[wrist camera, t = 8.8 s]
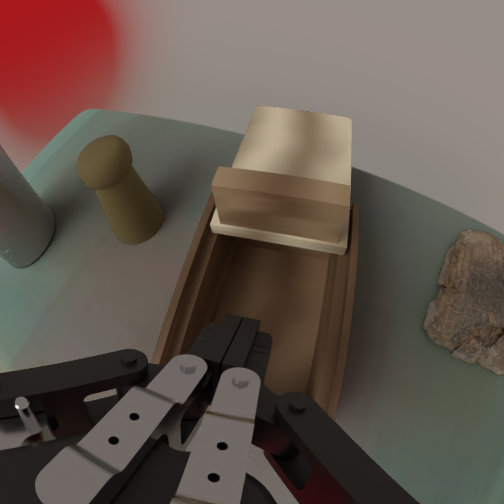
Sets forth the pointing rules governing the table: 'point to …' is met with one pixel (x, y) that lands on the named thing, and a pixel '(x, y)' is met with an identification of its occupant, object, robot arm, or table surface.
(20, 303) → the table surface
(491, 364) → the clay tablet
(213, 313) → the lid box
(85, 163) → the tan pawn
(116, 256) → the table surface
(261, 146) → the cover plate
